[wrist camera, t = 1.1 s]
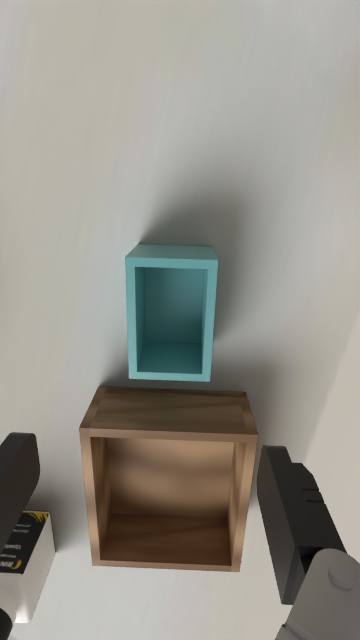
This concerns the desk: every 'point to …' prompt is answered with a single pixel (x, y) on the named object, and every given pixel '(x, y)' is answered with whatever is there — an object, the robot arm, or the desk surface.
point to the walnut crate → (168, 477)
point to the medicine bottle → (24, 568)
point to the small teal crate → (170, 311)
